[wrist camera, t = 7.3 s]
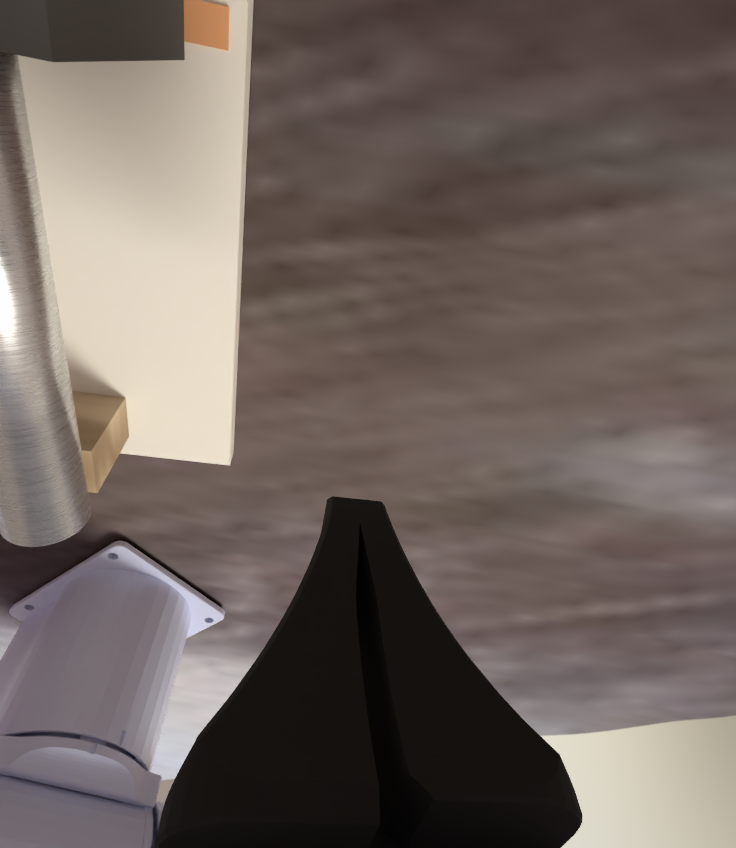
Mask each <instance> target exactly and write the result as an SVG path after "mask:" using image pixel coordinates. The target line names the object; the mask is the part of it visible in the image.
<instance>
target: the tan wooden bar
mask: <svg viewBox="0 0 736 848" xmlns="http://www.w3.org/2000/svg"><path fill="white" fill-rule="evenodd" d="M72 395H73V401H74V407H75V413H76V420H77V426H78V432H79V438H80V444H81V451H82V457H83V463H84V469H85V475H86V481H87V488H88V492H93V493H98V491H99V489H100V487H101V486H102V484H103V482H104V480H105V479H106V477H107V475H108V473H109V471H110V470H111V468H112V466H113V464H114V463H115V461H116V459H117V457H118V455H119V454H120V452H121V450H122V448H123V447H124V445H125V443H126V441H127V439H128V438H129V429H128V418H127V408H126V398H125V397H117V396H109V395H101V394H93V393H85V392H77V391H72Z"/></svg>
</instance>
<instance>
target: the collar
mask: <svg viewBox="0 0 736 848" xmlns="http://www.w3.org/2000/svg"><path fill="white" fill-rule="evenodd" d="M0 52H5V53H10V54H15V55H20V56H25V57H30V58H35V59H40V60H45V61H50V62H98V61H160V60H185V54H184V0H0Z"/></svg>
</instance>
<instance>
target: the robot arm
mask: <svg viewBox="0 0 736 848" xmlns="http://www.w3.org/2000/svg"><path fill="white" fill-rule="evenodd" d="M114 553H115V554H114ZM9 614H10V615H11V616H12V617H14V618H16V619H17V620H19V621H21V622H22V623H21V625H20V627H19V629H18V630H17V632H16V634H15V636H14V638H13V639H12V641H11V643H10V645H9V646H8V648H7V650H6V652H5V653H4V655H3V657H2V659H1V660H0V848H561V847H562V846H563V845H564V844H565V843H566V842H567V841H568V840H569V839H570V838H571V837H572V836H573V835H574V834H575V833H576V831H577V830H578V829H579V827H580V825H581V823H582V812H581V809H580V806H579V803H578V800H577V797H576V793H575V790H574V788H573V786H572V783H571V780H570V778H569V775H568V773H567V771H566V769H565V766H564V764H563V762H562V759H561V757H560V755H559V754H558V753H557V752H556V751H555V750H554V749H553V748H552V747H551V746H550V745H549V744H548V743H547V742H546V741H545V740H544V739H543V738H542V737H541V736H539V735H538V734H537V733H536V732H535V731H534V730H533V729H532V728H531V727H530V726H529V725H528V724H527V723H526V722H525V721H524V720H523V719H522V718H521V717H520V716H519V715H518V714H517V713H516V711H515V710H514V709H513V708H512V707H511V706H510V705H509V704H508V703H507V702H506V701H505V700H504V698H503V697H502V696H501V695H500V694H499V693H498V692H497V690H496V689H495V688H494V687H493V686H492V685H491V683H490V682H489V681H488V680H487V679H486V677H485V676H484V675H483V674H482V673H481V671H480V670H479V669H478V668H477V667H476V665H475V664H474V663H473V662H472V661H471V659H470V658H469V657H468V655H467V654H466V653H465V651H464V650H463V649H462V647H461V646H460V645H459V643H458V642H457V640H456V639H455V638H454V636H453V635H452V633H451V632H450V631H449V629H448V628H447V626H446V625H445V623H444V622H443V620H442V619H441V617H440V616H439V614H438V613H437V611H436V609H435V608H434V606H433V605H432V603H431V601H430V599H429V598H428V596H427V594H426V593H425V591H424V589H423V588H422V586H421V584H420V582H419V580H418V579H417V577H416V575H415V573H414V571H413V569H412V567H411V565H410V563H409V561H408V559H407V557H406V555H405V553H404V551H403V549H402V547H401V545H400V543H399V540H398V538H397V536H396V534H395V531H394V529H393V527H392V524H391V522H390V519H389V517H388V514H387V511H386V508H385V506H384V504H383V503H382V502H380V501H370V500H361V499H351V498H342V497H331V498H329V499H327V504H326V509H325V515H324V520H323V526H322V531H321V535H320V538H319V541H318V544H317V546H316V549H315V552H314V554H313V557H312V560H311V562H310V564H309V567H308V569H307V571H306V573H305V575H304V577H303V579H302V582H301V584H300V586H299V588H298V590H297V592H296V594H295V596H294V598H293V600H292V602H291V603H290V605H289V607H288V609H287V611H286V613H285V614H284V616H283V618H282V620H281V621H280V623H279V625H278V626H277V628H276V630H275V631H274V633H273V634H272V636H271V638H270V639H269V641H268V643H267V644H266V646H265V647H264V649H263V650H262V652H261V653H260V655H259V656H258V658H257V659H256V661H255V662H254V664H253V665H252V667H251V668H250V669H249V671H248V672H247V673H246V675H245V676H244V678H243V679H242V680H241V682H240V683H239V685H238V686H237V687H236V689H235V690H234V692H233V693H232V694H231V696H230V697H229V698H228V699H227V701H226V702H225V703H224V705H223V706H222V707H221V708H220V709H219V711H218V712H217V713H216V714H215V716H214V717H213V718H212V719H211V721H210V722H209V723H208V724H207V725H206V727H205V728H204V729H203V730H202V732H201V733H200V734H199V735H198V737H197V739H196V741H195V743H194V745H193V747H192V749H191V750H190V752H189V754H188V756H187V757H186V759H185V761H184V763H183V765H182V767H181V769H180V770H179V772H178V774H177V776H176V778H175V780H174V783H173V784H172V787H171V789H170V791H169V793H168V796H167V799H166V801H165V804H164V803H163V802H160V801H156V799H157V794H158V791H159V786H160V782H161V779H162V777H161V776H160V775H157V774H154V773H151V772H150V771H151V767H152V764H153V760H154V756H155V752H156V749H157V745H158V741H159V738H160V734H161V730H162V726H163V723H164V719H165V715H166V712H167V708H168V704H169V700H170V697H171V693H172V689H173V686H174V682H175V678H176V674H177V671H178V667H179V663H180V660H181V656H182V652H183V648H184V645H185V641H186V638H188V637H190V636H192V635H194V634H196V633H198V632H200V631H202V630H204V629H206V628H208V627H210V626H212V625H214V624H216V623H218V622H219V621H221V620H223V619H224V615H225V611H224V610H223V609H222V608H221V607H219V606H218V605H217V604H215V603H214V602H212V601H211V600H209V599H208V598H206V597H205V596H204V595H202V594H201V593H199V592H198V591H196V590H195V589H193V588H192V587H191V586H189V585H188V584H186V583H185V582H183V581H182V580H180V579H179V578H178V577H176V576H175V575H173V574H172V573H170V572H169V571H168V570H166V569H165V568H163V567H162V566H160V565H159V564H157V563H156V562H155V561H153V560H152V559H150V558H149V557H147V556H146V555H144V554H143V553H142V552H140V551H139V550H137V549H136V548H134V547H133V546H131V545H130V544H129V543H127V542H125V541H116V542H113V543H112V544H110V545H109V546H107V547H105V548H104V549H102V550H101V551H99V552H97V553H96V554H94V555H93V556H91V557H89V558H88V559H86V560H84V561H83V562H81V563H80V564H78V565H76V566H75V567H73V568H72V569H70V570H68V571H67V572H65V573H64V574H62V575H60V576H59V577H57V578H55V579H54V580H52V581H51V582H49V583H47V584H46V585H44V586H43V587H41V588H39V589H38V590H36V591H35V592H33V593H31V594H30V595H28V596H26V597H25V598H23V599H22V600H20V601H18V602H17V603H15V604H14V605H13V606H12V607H11V609H10V610H9Z"/></svg>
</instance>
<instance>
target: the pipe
mask: <svg viewBox="0 0 736 848" xmlns="http://www.w3.org/2000/svg"><path fill="white" fill-rule="evenodd" d="M90 514H91V506H90V500H89V494H88V488H87V481H86V475H85V469H84V463H83V457H82V451H81V444H80V438H79V432H78V426H77V420H76V413H75V407H74V401H73V395H72V389H71V382H70V376H69V370H68V364H67V358H66V351H65V345H64V339H63V333H62V327H61V320H60V314H59V308H58V302H57V296H56V289H55V283H54V277H53V271H52V265H51V259H50V252H49V246H48V240H47V234H46V228H45V221H44V215H43V209H42V203H41V197H40V190H39V184H38V178H37V172H36V166H35V159H34V153H33V147H32V141H31V135H30V128H29V122H28V116H27V110H26V104H25V97H24V91H23V85H22V79H21V73H20V66H19V60H18V55H15V54H10V53H5V52H0V534H1V535H2V537H3V538H4V539H6V540H7V541H9V542H10V543H13V544H15V545H19V546H25V547H40V546H47V545H51V544H55V543H58V542H61V541H63V540H65V539H67V538H69V537H71V536H73V535H74V534H76V533H77V532H78V531H80V530H81V529H82V528H83V527H84V526H85V524H86V523H87V521H88V520H89V518H90Z"/></svg>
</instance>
